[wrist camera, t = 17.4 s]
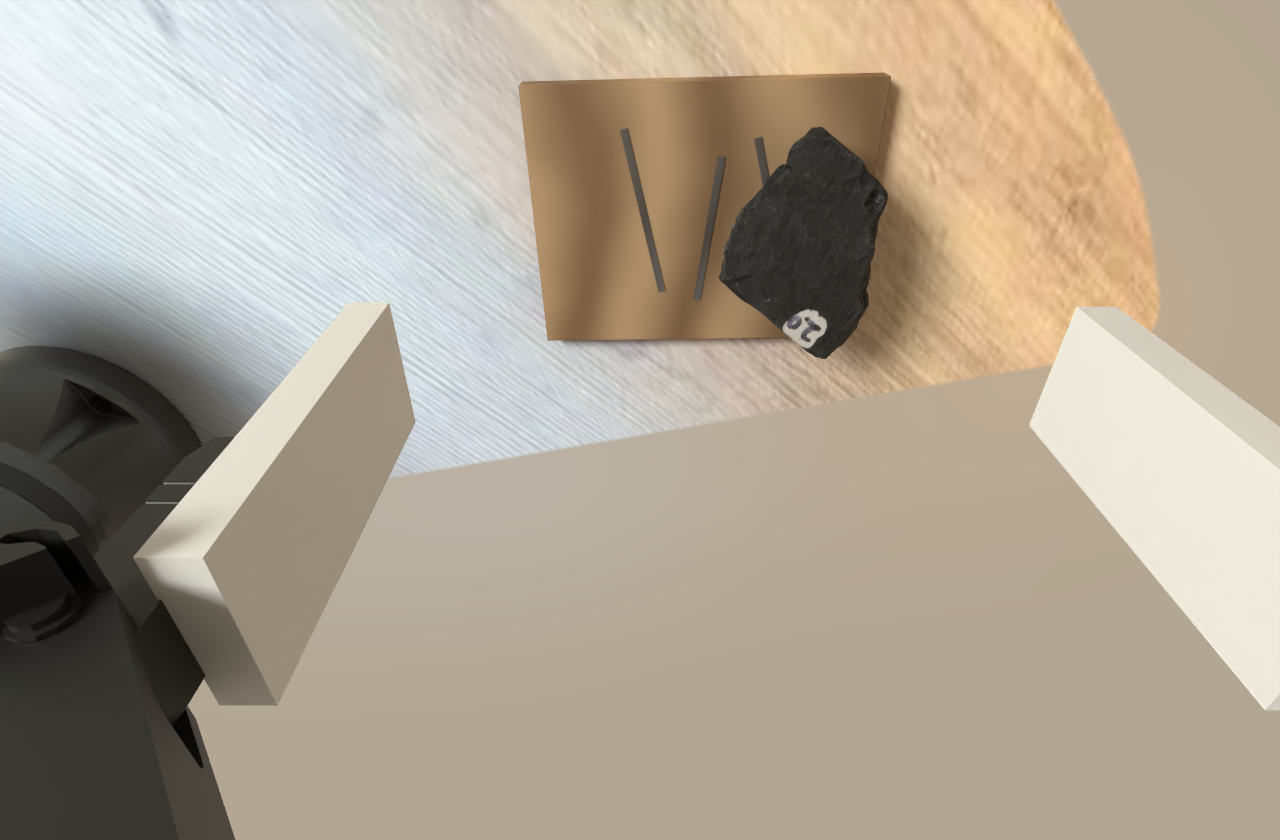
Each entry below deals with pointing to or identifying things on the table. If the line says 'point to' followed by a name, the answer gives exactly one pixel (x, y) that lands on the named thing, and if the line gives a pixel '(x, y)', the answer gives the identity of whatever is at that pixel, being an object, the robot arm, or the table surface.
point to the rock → (808, 243)
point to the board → (668, 191)
